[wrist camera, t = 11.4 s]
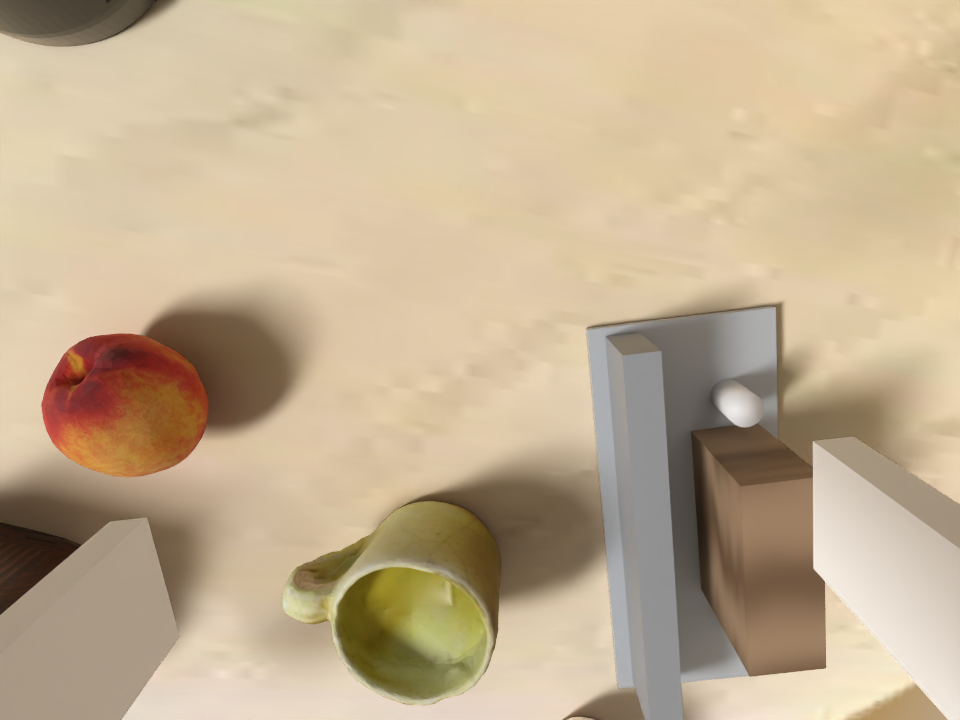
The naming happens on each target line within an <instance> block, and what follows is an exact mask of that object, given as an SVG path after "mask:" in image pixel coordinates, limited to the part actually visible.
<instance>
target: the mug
mask: <svg viewBox="0 0 960 720" xmlns="http://www.w3.org/2000/svg"><path fill="white" fill-rule="evenodd" d="M500 576H501V561H500V554H499V549H498V547H497V544H496V542H495V540H494V538H493V536H492V535H491V533H490V531H489V530H488V529H487V527H486V526H485V525H484V524H483V523H482V522H481V521H480V520H479V519H478V518H477V517H476V516H475V515H474V514H472V513H471V512H469V511H467V510H466V509H464V508H462V507H460V506H456V505H452V504H449V503H445V502H437V501H423V502H416V503H411V504H408V505H405V506H403V507H401V508H399V509H397V510H396V511H394V512H393V513H391V514H390V515H389V516H388V517H387V518H386V519H385V521H384V522H383V523H382V524H380V525H379V526H378V527H377V529H376V530H375V531H374V532H373V533H372V534H370V535H369V536H367V537H364V538H362V539H360V540H359V541H357V542H356V543H355V544H352V545H350V546H348V547H346V548H344V549H343V550H341V551H338V552H331V553H328V554H326V555H323V556H320V557H319V558H317V559H315V560H313V561H312V562H308V563H307V562H306V563H304V564H303V565H301V566H299V567H297V568H296V569H295V570H294V571H293V572H292V574H291V575H290V577H289V579H288V581H287V582H286V584H285V586H284V591H283V597H282V608H283V610H284V611H285V612H286V614H288V615H289V616H291V617H293V618H294V619H296V620H299V621H301V622H303V623H309V624H317V623H321V622H324V621H330V623H331V627H332V635H333V643H334V645H335V648H336V650H337V653H338V655H339V656H340V659H341V660H342V662H343V663H344V665H345V666H346V668H347V670H348V671H349V672H350V674H351V675H352V676H353V677H355V678H356V679H357V680H358V681H359V682H360V683H361V684H363V685H364V686H366V687H367V688H369V689H371V690H372V691H374V692H376V693H378V694H379V695H381V696H383V697H386V698H388V699H391V700H394V701H397V702H400V703H403V704H407V705H431V704H435V703H436V702H438V701H440V700H442V699H445V698H448V697H452V696H457V695H461V694H463V693H464V692H465V691H467V690H469V689H470V688H472V687H473V686H475V684H476V683H477V682H478V681H479V679H480V678H481V676H482V675H483V674H484V673H485V672H486V670H487V668H488V665H489V663H490V660H491V656H492V653H493V651H494V648H495V644H496V638H497V633H498V611H499V586H500Z"/></svg>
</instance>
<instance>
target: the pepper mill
mask: <svg viewBox="0 0 960 720" xmlns="http://www.w3.org/2000/svg"><path fill="white" fill-rule="evenodd" d="M79 547H81V545H79V544H77V543H74V542H72V541H69V540H67V539H65V538H61V537H57V536H53V535H50V534H46V533H42V532H38V531H34V530H30V529H26V528H22V527H18V526H14V525H10V524H5V523H1V522H0V615H1V614H2V613H3V612H4V611H6V610H7V609H8V608H9V607H10V606H11V605H13V604H14V603H15V602H16V601H17V600H18V599H20V598H21V597H22V596H23V595H24V594H25V593H27V592H28V591H29V590H30V589H31V588H33V587H34V586H35V585H36V584H37V583H38V582H40V581H41V580H42V579H43V578H44V577H45V576H47V575H48V574H49V573H50V572H51V571H52V570H54V569H55V568H56V567H57V566H58V565H59V564H61V563H62V562H63V561H64V560H65V559H66V558H68V557H69V556H70V555H71V554H72V553H74V552H75V551H76V550H77V549H78V548H79Z"/></svg>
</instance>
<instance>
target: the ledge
mask: <svg viewBox="0 0 960 720" xmlns="http://www.w3.org/2000/svg"><path fill="white" fill-rule="evenodd" d="M586 333H587V345H588V356H589V368H590V379H591V391H592V402H593V414H594V425H595V437H596V448H597V460H598V471H599V483H600V494H601V506H602V517H603V529H604V540H605V552H606V563H607V575H608V586H609V597H610V609H611V620H612V632H613V643H614V655H615V666H616V678H617V685H618V688H619V689H620V688H630V687H635V690H636V693H637V696H638V699H639V703H640V706H641V709H642V712H643V716H644V719H645V720H683V705H682V688H681V682H691V681H702V680H712V679H722V678H732V677H743V676H749V674H748V673H747V671H746V669H745V667H744V665H743V664H742V662H741V660H740V658H739V656H738V655H737V653H736V651H735V649H734V647H733V646H732V644H731V642H730V640H729V638H728V637H727V635H726V633H725V631H724V629H723V628H722V626H721V624H720V622H719V620H718V619H717V617H716V615H715V613H714V611H713V610H712V608H711V606H710V604H709V602H708V601H707V599H706V597H705V595H704V593H703V592H702V590H701V580H700V564H699V549H698V533H697V518H696V502H695V487H694V471H693V456H692V440H691V431H693V430H701V429H709V428H717V427H725V426H733V425H737V426H739V427H751V426H753V425H755V424H757V423H758V424H759V425H760V426H762V427H763V428H764V429H765V430H767V431H768V432H769V433H770V434H772V435H773V436H774V437H775V438H776V439H778V403H777V344H776V307H773V306H766V307H758V308H749V309H741V310H733V311H724V312H716V313H708V314H699V315H691V316H682V317H674V318H666V319H657V320H649V321H641V322H632V323H624V324H615V325H607V326H599V327H590V328H586Z"/></svg>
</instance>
